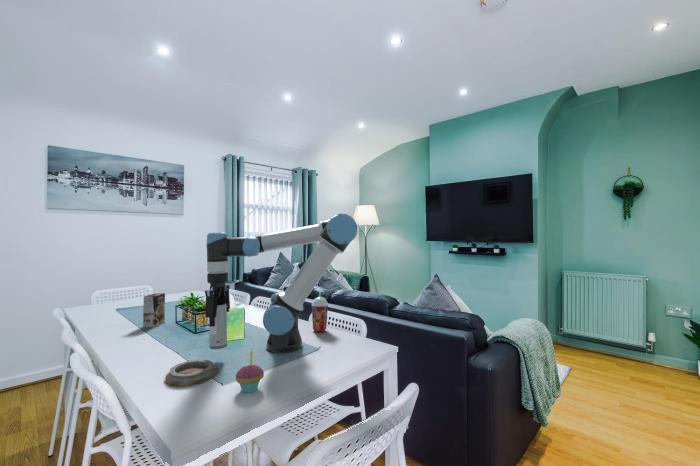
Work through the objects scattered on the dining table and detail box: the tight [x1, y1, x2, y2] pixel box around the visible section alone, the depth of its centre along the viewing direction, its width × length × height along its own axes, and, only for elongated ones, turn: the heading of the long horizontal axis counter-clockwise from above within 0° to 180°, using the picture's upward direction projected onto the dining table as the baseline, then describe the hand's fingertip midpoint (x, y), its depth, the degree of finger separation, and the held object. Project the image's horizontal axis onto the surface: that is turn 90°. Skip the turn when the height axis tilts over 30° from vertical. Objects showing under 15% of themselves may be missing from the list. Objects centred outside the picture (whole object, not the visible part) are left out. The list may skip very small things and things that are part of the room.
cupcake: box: [235, 348, 265, 394], centre depth 101 cm, size 9×8×12 cm
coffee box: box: [142, 292, 166, 328], centre depth 170 cm, size 9×6×16 cm
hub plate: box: [164, 358, 218, 387], centre depth 111 cm, size 16×16×3 cm
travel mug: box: [208, 295, 228, 350], centre depth 124 cm, size 6×7×20 cm
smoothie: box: [310, 291, 329, 334], centre depth 162 cm, size 8×8×20 cm
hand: (218, 331), depth 124 cm, fingers closed on travel mug, 6 cm apart
